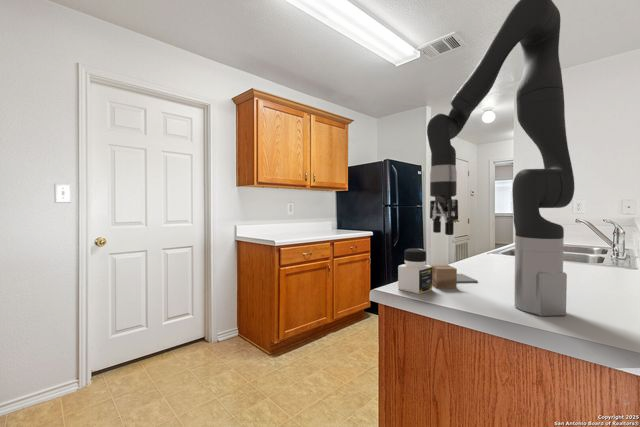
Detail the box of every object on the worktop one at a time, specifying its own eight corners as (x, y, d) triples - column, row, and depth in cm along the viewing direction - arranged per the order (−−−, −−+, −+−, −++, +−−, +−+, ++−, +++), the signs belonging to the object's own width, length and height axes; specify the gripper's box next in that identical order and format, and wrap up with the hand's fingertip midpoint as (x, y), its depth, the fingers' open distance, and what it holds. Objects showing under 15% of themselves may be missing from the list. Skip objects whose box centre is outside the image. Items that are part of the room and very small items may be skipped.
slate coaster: (477, 282, 96) (477, 280, 96) (447, 282, 95) (447, 281, 95) (461, 275, 106) (461, 273, 106) (434, 275, 105) (434, 274, 105)
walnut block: (456, 288, 89) (456, 268, 89) (436, 288, 89) (437, 268, 89) (447, 283, 95) (447, 264, 95) (428, 283, 95) (428, 264, 95)
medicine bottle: (419, 294, 83) (419, 251, 83) (397, 289, 88) (397, 248, 88) (432, 289, 88) (432, 249, 87) (410, 285, 93) (411, 246, 93)
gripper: (467, 178, 85) (466, 235, 85) (444, 183, 99) (444, 231, 99) (441, 178, 84) (440, 236, 85) (422, 183, 99) (422, 231, 99)
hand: (442, 233), depth 92 cm, fingers open, 8 cm apart
